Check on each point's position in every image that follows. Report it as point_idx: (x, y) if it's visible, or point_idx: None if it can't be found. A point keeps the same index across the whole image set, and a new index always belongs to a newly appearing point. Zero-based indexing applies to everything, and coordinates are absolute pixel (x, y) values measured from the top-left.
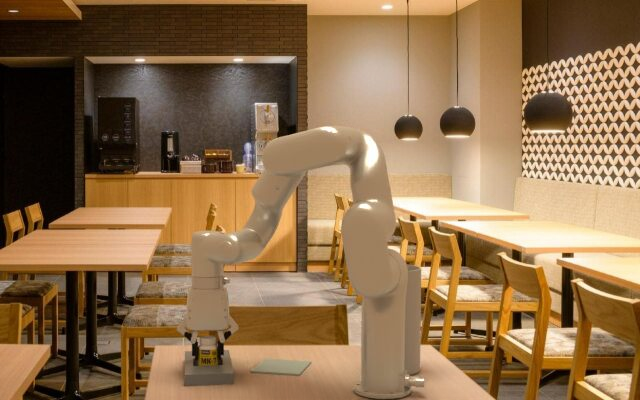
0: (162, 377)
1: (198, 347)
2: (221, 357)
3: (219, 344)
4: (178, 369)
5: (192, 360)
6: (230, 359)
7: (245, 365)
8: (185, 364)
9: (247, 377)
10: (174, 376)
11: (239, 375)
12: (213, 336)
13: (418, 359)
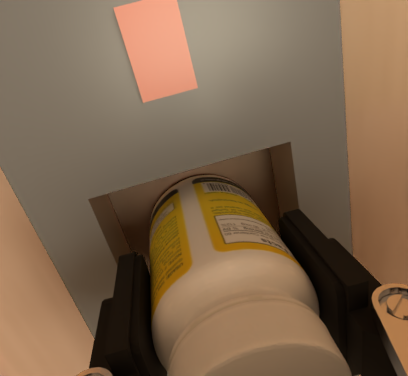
0: (3, 339)
1: (165, 368)
2: (285, 140)
3: (350, 367)
4: (12, 198)
5: (103, 246)
6: (346, 183)
7: (396, 55)
8: (95, 330)
9: (388, 266)
10: (56, 315)
11: (357, 246)
12: (322, 368)
13: None
